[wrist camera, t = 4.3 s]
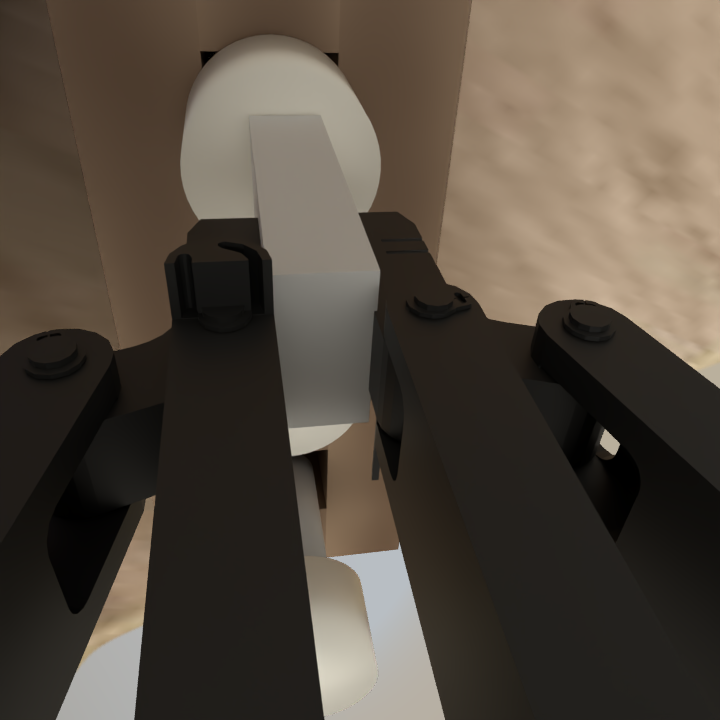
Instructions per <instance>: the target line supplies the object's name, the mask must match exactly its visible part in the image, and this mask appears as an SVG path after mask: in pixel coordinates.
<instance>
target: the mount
mask: <svg viewBox="0 0 720 720" xmlns="http://www.w3.org/2000/svg"><path fill="white" fill-rule="evenodd" d="M471 4H472V0H46V5H47V9H48V14H49V19H50V23H51V28H52V33H53V37H54V42H55V47H56V51H57V56H58V61H59V65H60V70H61V75H62V79H63V84H64V89H65V93H66V98H67V103H68V107H69V112H70V117H71V121H72V126H73V131H74V135H75V140H76V145H77V149H78V154H79V159H80V163H81V168H82V173H83V177H84V182H85V187H86V191H87V196H88V201H89V206H90V210H91V215H92V220H93V224H94V229H95V234H96V238H97V243H98V248H99V252H100V257H101V262H102V266H103V271H104V276H105V280H106V285H107V290H108V294H109V299H110V304H111V308H112V313H113V318H114V322H115V327H116V332H117V336H118V341H119V346H120V350H121V349H125V348H129V347H133V346H136V345H139V344H143V343H146V342H149V341H151V340H153V339H155V338H157V337H159V336H161V335H163V334H164V333H165V332H167V331H168V330H169V329H170V328H171V326H172V315H171V309H170V302H169V295H168V289H167V282H166V275H165V269H164V262H165V261H166V259H167V257H168V255H169V253H171V252H172V251H174V250H175V249H177V248H178V247H180V246H181V245H184V244H186V243H187V233H188V232H189V231H190V230H191V229H192V228H193V227H194V226H195V224H196V223H197V222H198V221H199V219H198V218H197V216H196V215H195V213H194V212H193V210H192V208H191V206H190V204H189V202H188V200H187V197H186V194H185V191H184V188H183V183H182V178H181V167H180V159H181V148H182V139H183V131H184V123H185V114H186V106H187V101H188V97H189V93H190V91H191V88H192V85H193V83H194V81H195V79H196V77H197V76H198V74H199V72H200V71H201V69H202V68H203V67H204V66H205V64H206V63H207V62H208V61H209V58H208V51H220V50H222V49H223V48H225V47H226V46H228V45H230V44H232V43H234V42H236V41H239V40H241V39H244V38H247V37H252V36H257V35H269V34H273V35H284V36H288V37H292V38H296V39H299V40H301V41H304V42H307V43H309V44H310V45H312V46H314V47H316V48H318V49H319V50H320V51H322V52H323V53H324V54H326V55H327V56H328V57H329V58H330V59H331V60H332V61H333V62H334V63H335V64H336V65H337V66H338V68H339V69H340V70H341V71H342V73H343V74H344V76H345V77H346V79H347V81H348V83H349V84H350V86H351V88H352V90H353V91H354V93H355V95H356V97H357V98H358V100H359V102H360V104H361V106H362V107H363V109H364V111H365V113H366V115H367V116H368V118H369V120H370V122H371V124H372V126H373V129H374V131H375V133H376V137H377V140H378V144H379V149H380V157H381V172H380V180H379V185H378V189H377V193H376V196H375V198H374V201H373V203H372V205H371V207H370V209H369V211H368V212H399V213H400V214H402V215H403V216H404V217H406V218H407V219H409V220H410V221H412V222H413V223H415V225H416V227H417V229H418V231H419V233H420V235H421V236H422V241H424V242H425V244H426V246H427V248H428V253H430V254H431V256H432V257H433V259H434V261H435V263H436V264H437V257H438V249H439V242H440V234H441V227H442V219H443V212H444V205H445V197H446V190H447V182H448V175H449V167H450V160H451V152H452V145H453V138H454V130H455V123H456V115H457V108H458V100H459V93H460V86H461V78H462V71H463V63H464V56H465V48H466V41H467V33H468V26H469V19H470V11H471ZM375 426H376V415H375V411H374V407H373V404H372V400H370V413H369V422H364V423H353V424H352V425H351V426H350V427H349V429H348V430H347V431H346V432H345V433H344V434H342V435H341V436H340V437H339V438H338V439H336V440H335V441H333V442H332V443H330V444H328V445H326V446H325V447H322V448H320V449H318V450H315V451H312V452H309V453H306V454H301V455H303V456H305V457H306V458H307V459H309V461H310V462H311V464H312V466H313V472H314V478H315V485H316V491H317V498H318V504H319V511H320V517H321V524H322V530H323V537H324V543H325V550H326V556H327V557H334V556H344V555H353V554H361V553H369V552H379V551H387V550H396V549H398V546H399V538H398V534H397V530H396V527H395V523H394V519H393V515H392V511H391V507H390V503H389V499H388V496H387V492H386V488H385V484H384V480H383V476H382V472H381V468H380V471H379V480H372V462H373V450H374V438H375ZM155 496H156V495H155ZM155 496H152V500H153V504H154V506H155Z"/></svg>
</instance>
